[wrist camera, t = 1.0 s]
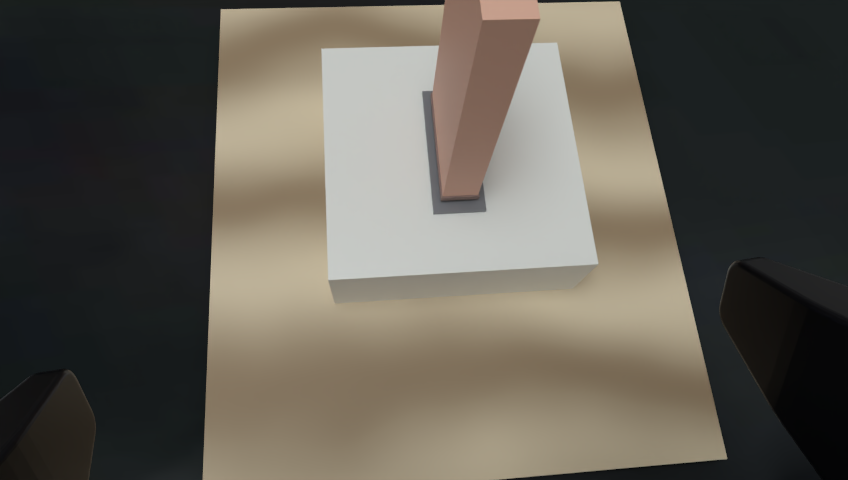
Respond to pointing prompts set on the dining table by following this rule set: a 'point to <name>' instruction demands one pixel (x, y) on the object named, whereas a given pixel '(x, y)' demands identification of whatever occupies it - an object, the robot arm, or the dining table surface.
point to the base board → (438, 316)
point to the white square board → (420, 195)
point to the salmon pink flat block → (476, 85)
